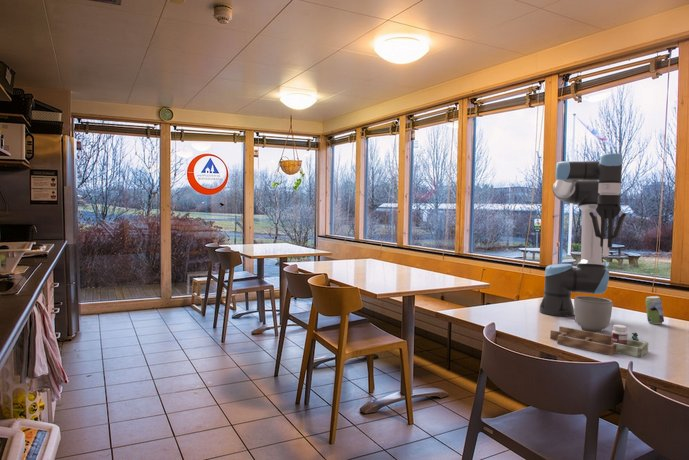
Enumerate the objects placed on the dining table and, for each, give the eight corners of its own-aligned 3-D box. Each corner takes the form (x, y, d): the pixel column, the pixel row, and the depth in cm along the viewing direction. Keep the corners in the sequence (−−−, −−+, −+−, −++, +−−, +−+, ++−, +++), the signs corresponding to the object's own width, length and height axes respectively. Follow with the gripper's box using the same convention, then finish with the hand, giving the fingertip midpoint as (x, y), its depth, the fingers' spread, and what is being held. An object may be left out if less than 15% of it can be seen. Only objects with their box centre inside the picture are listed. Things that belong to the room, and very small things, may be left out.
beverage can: (666, 325, 204) (668, 298, 204) (647, 324, 206) (649, 297, 205) (659, 322, 210) (661, 295, 210) (641, 321, 212) (643, 294, 211)
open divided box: (545, 340, 176) (545, 332, 176) (559, 333, 187) (560, 326, 187) (637, 360, 156) (637, 351, 155) (647, 351, 166) (648, 342, 166)
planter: (565, 327, 197) (566, 296, 196) (588, 324, 202) (590, 295, 202) (594, 336, 184) (596, 303, 184) (618, 333, 190) (620, 301, 189)
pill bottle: (608, 346, 171) (609, 324, 170) (621, 347, 170) (623, 324, 170) (615, 350, 166) (616, 327, 165) (629, 351, 166) (630, 327, 165)
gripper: (587, 194, 182) (584, 254, 183) (625, 194, 173) (621, 258, 174) (593, 194, 187) (590, 253, 189) (631, 194, 178) (627, 256, 180)
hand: (605, 255), depth 182 cm, fingers closed
